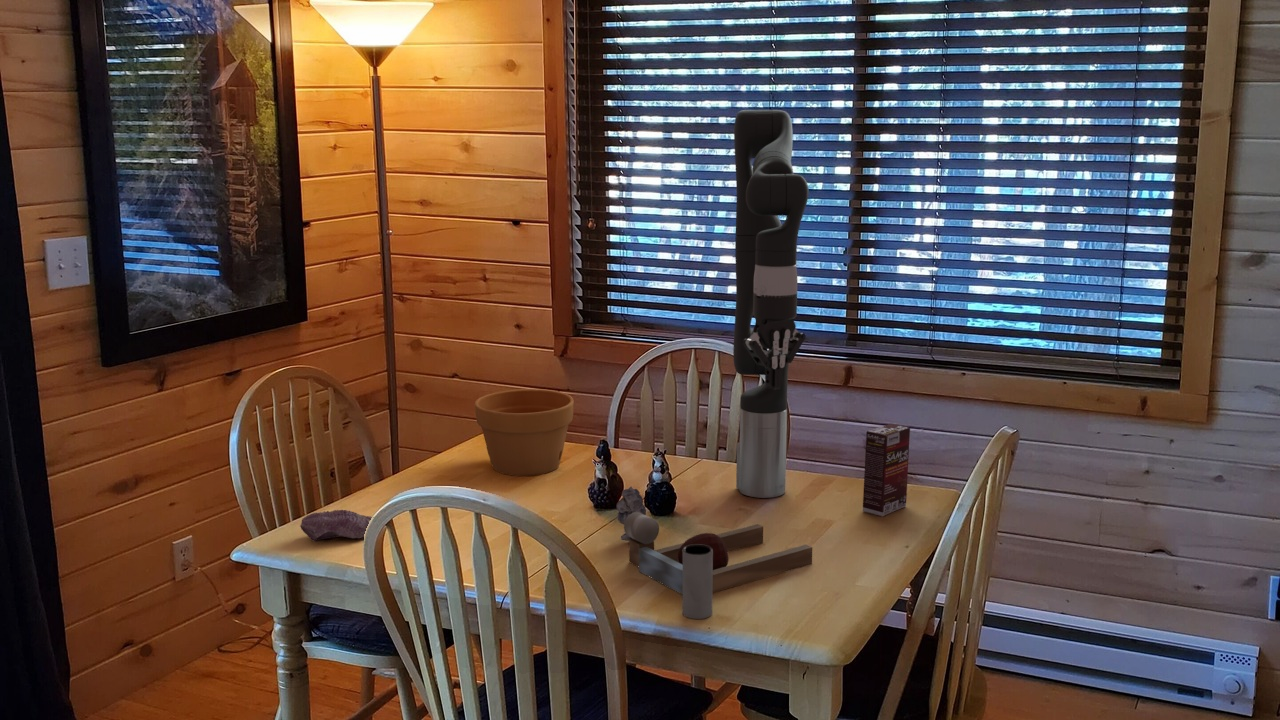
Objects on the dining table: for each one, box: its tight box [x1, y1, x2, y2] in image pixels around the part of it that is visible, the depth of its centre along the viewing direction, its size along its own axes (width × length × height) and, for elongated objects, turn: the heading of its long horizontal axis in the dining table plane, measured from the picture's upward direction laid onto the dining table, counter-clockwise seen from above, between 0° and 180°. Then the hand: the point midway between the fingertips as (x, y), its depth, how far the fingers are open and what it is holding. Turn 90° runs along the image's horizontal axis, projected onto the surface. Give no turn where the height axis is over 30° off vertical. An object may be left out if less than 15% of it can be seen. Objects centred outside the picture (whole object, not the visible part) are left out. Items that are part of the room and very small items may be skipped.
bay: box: [623, 512, 813, 595], centre depth 200 cm, size 19×26×8 cm
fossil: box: [299, 509, 373, 542], centre depth 214 cm, size 8×14×5 cm, turn 112°
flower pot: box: [474, 388, 575, 477], centre depth 256 cm, size 21×21×15 cm
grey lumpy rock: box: [615, 486, 647, 542], centre depth 211 cm, size 5×5×10 cm
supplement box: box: [862, 423, 911, 517], centre depth 227 cm, size 9×5×16 cm, turn 136°
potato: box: [678, 532, 729, 570], centre depth 196 cm, size 7×8×7 cm
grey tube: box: [681, 544, 713, 620], centre depth 180 cm, size 4×4×10 cm
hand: (773, 388), depth 209 cm, fingers closed
